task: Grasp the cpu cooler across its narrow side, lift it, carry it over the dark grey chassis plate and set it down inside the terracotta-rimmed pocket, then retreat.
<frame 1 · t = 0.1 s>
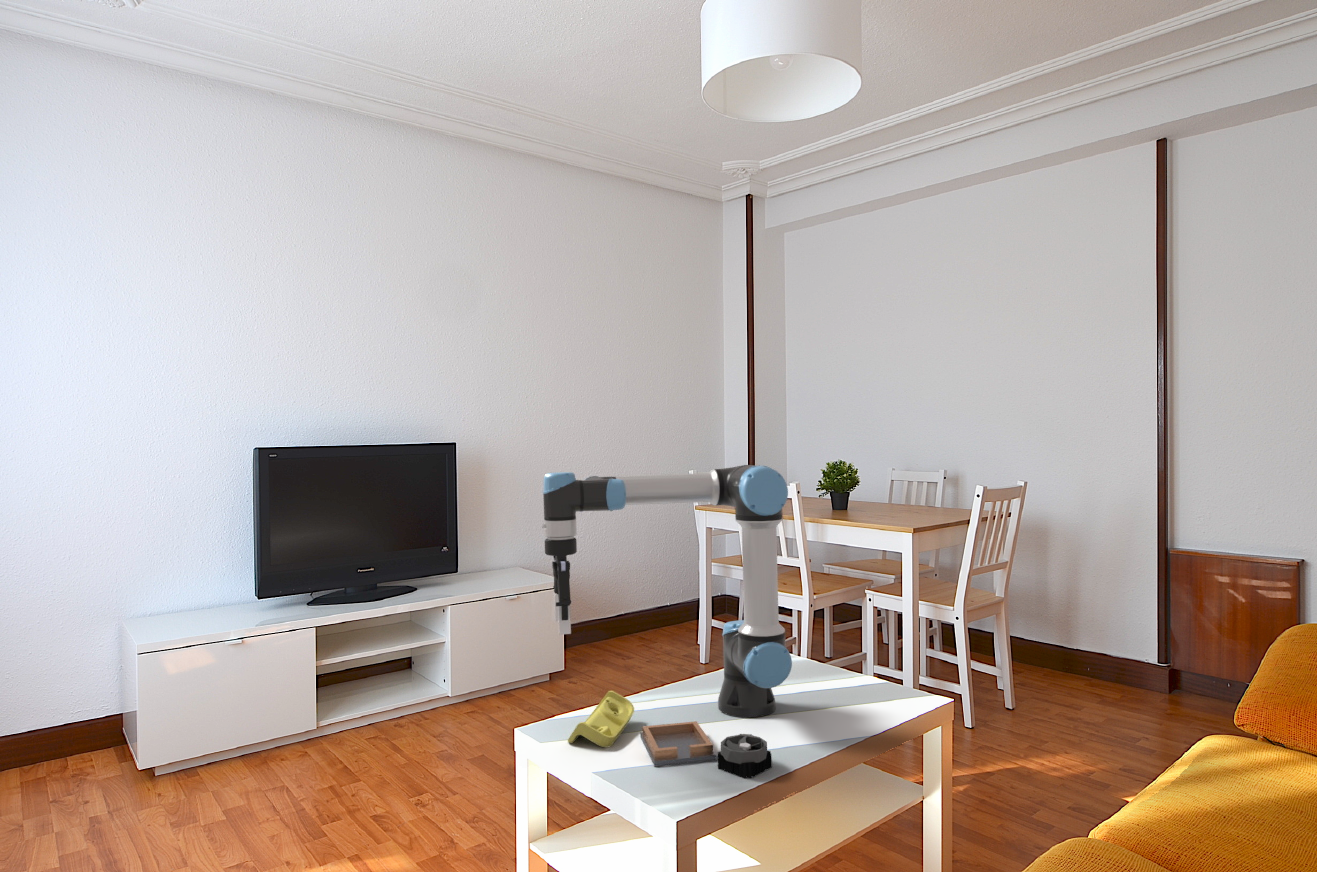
hand: (562, 627, 189), 28 cm above the table, fingers open, 13 cm apart
cpu cooler: (744, 768, 174), on the table
plastic component: (605, 734, 196), on the table
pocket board: (676, 748, 186), on the table
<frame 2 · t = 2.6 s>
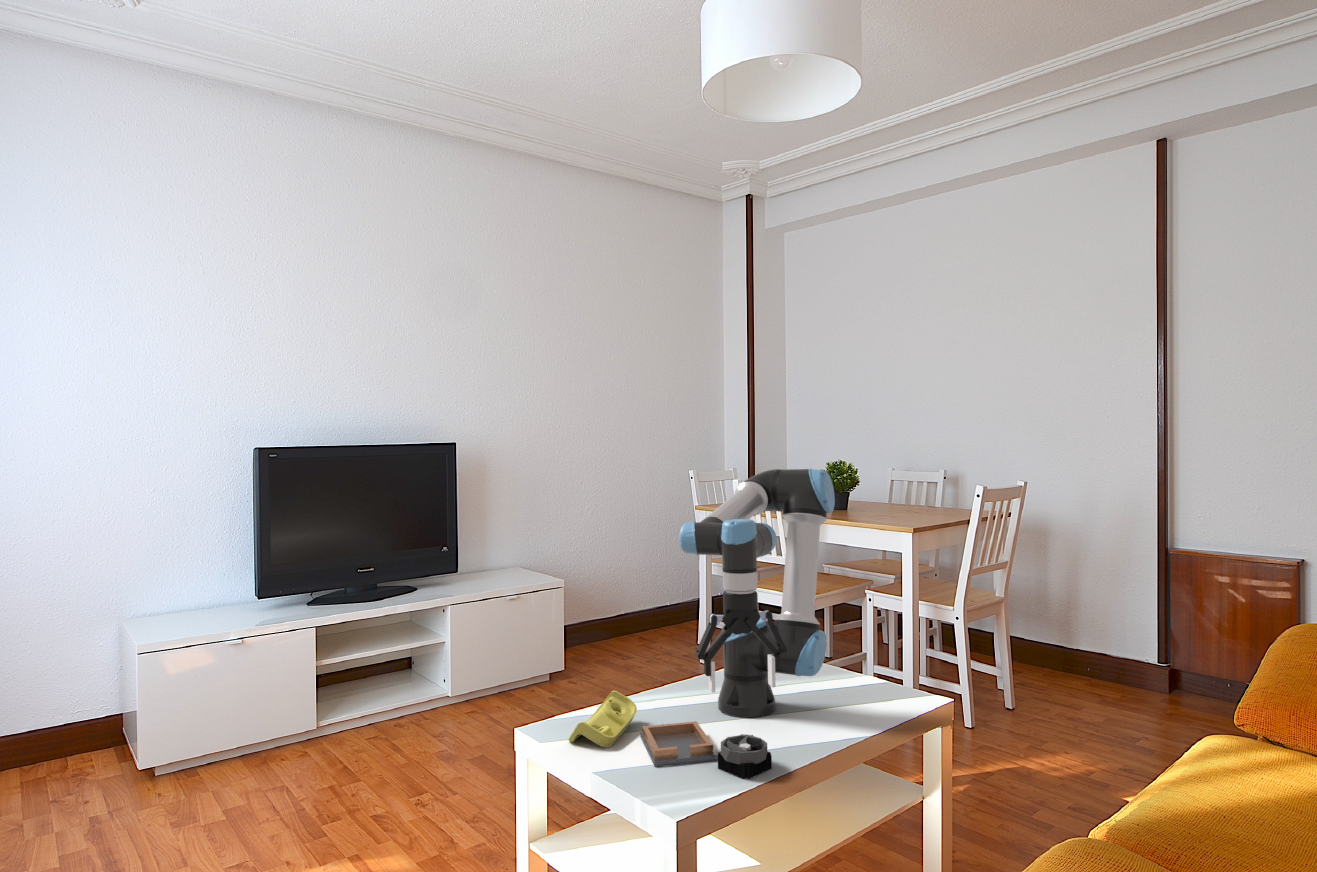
hand: (742, 688, 174), 17 cm above the table, fingers open, 13 cm apart
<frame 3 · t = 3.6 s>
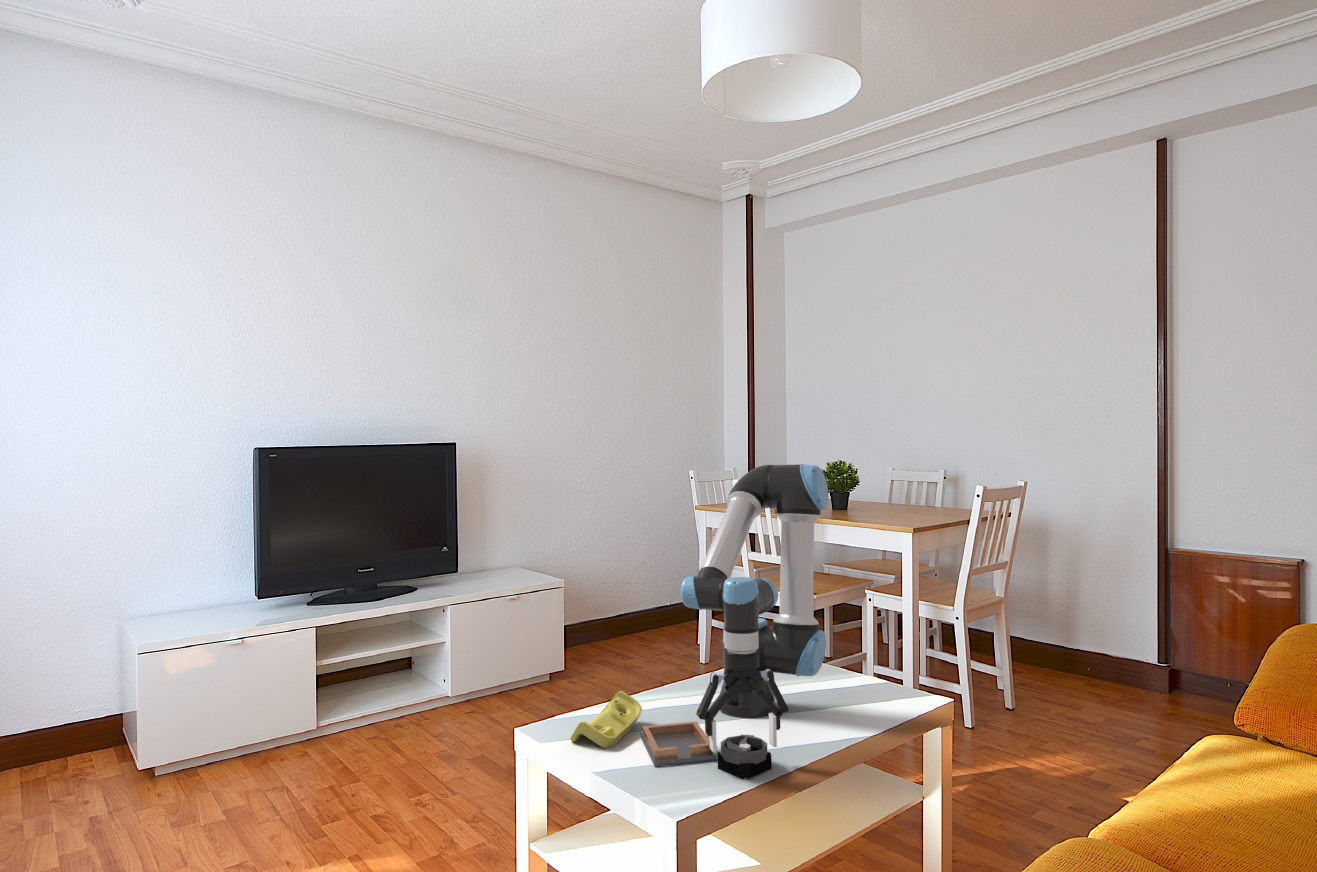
hand: (743, 747, 174), 4 cm above the table, fingers open, 13 cm apart
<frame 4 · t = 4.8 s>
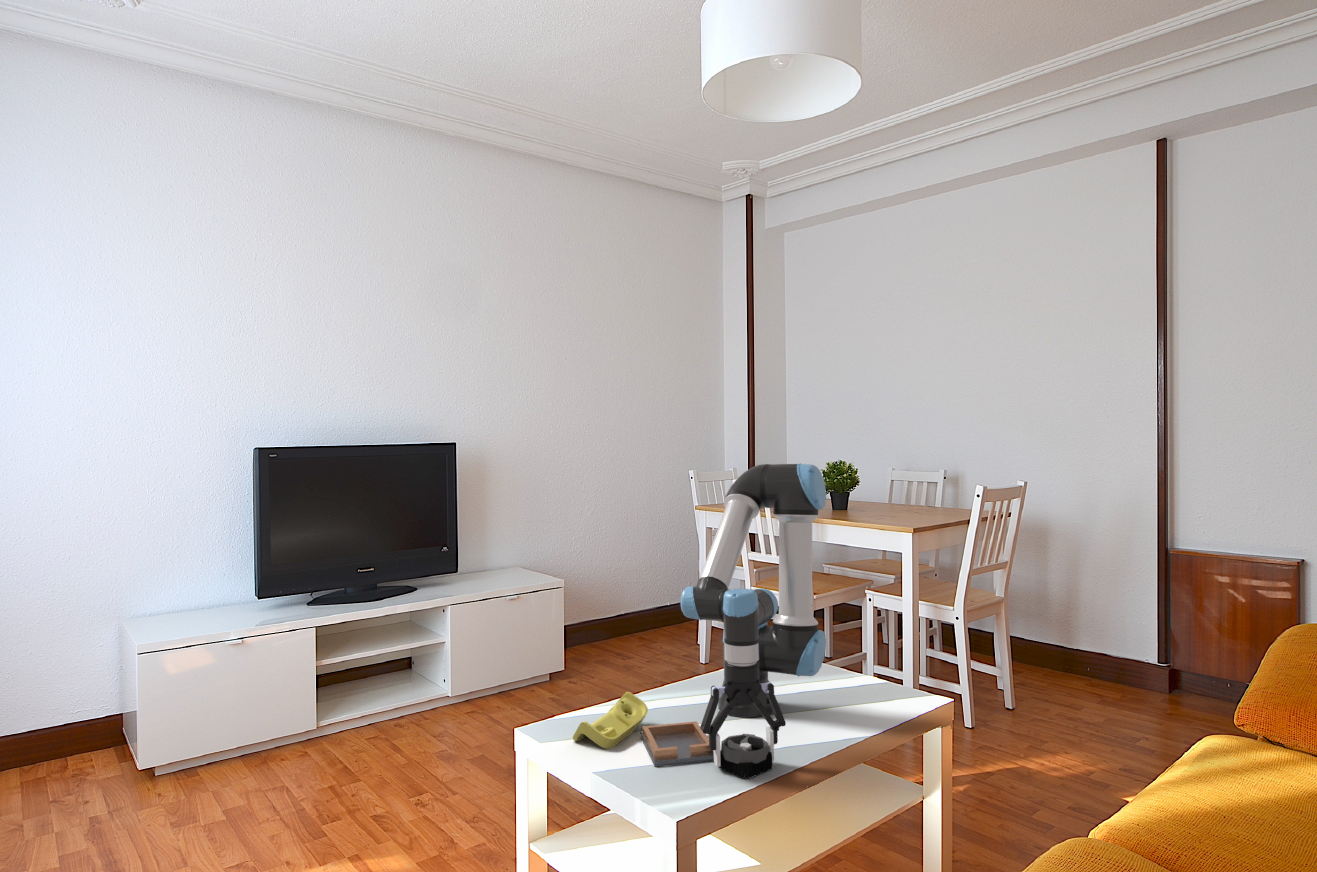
hand: (744, 761, 174), 1 cm above the table, fingers closed on cpu cooler, 11 cm apart
cpu cooler: (745, 769, 174), on the table, touching gripper
plastic component: (614, 735, 195), on the table
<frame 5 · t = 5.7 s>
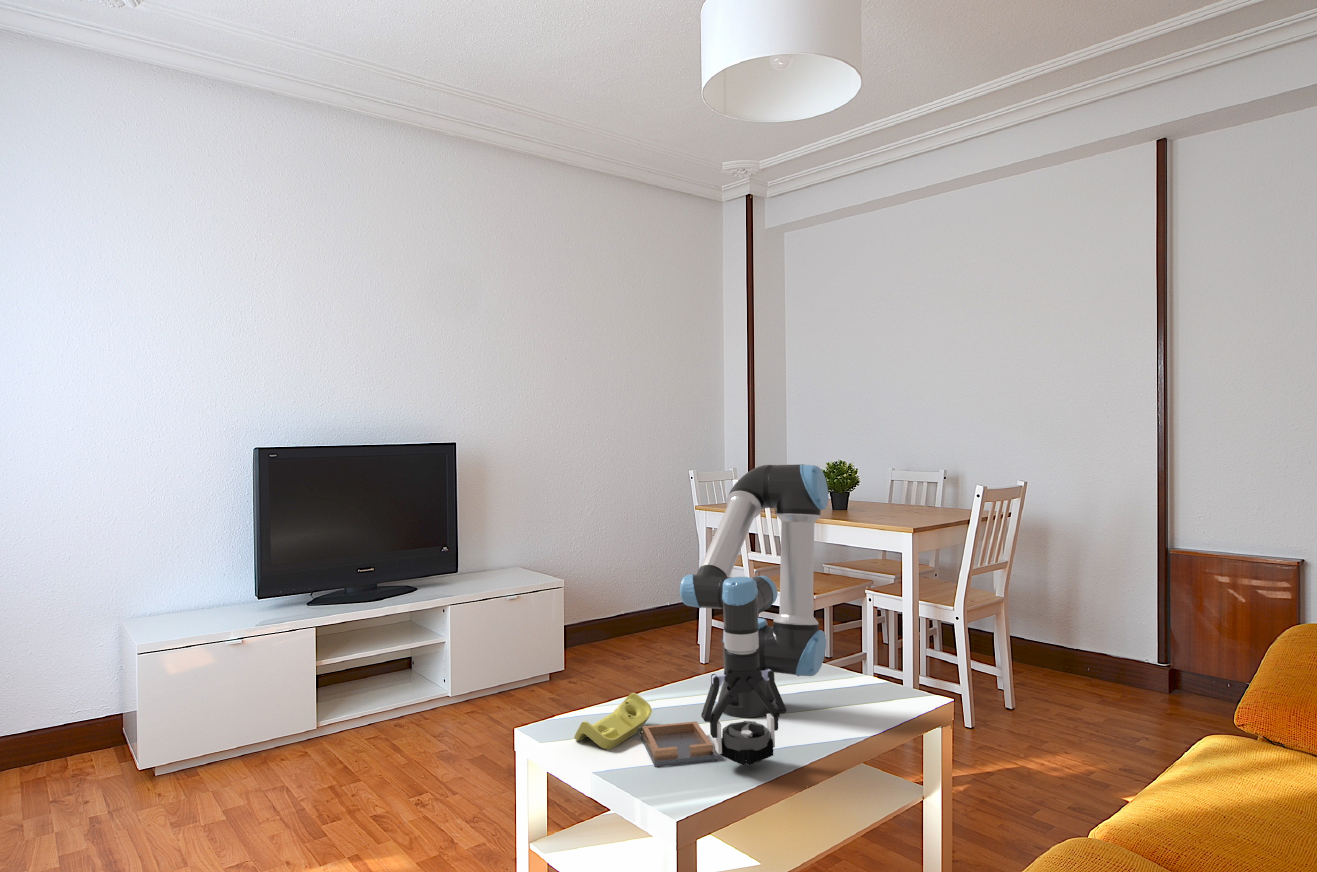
hand: (745, 748, 175), 4 cm above the table, fingers closed on cpu cooler, 11 cm apart
cpu cooler: (746, 755, 174), point 2 cm above the table, touching gripper
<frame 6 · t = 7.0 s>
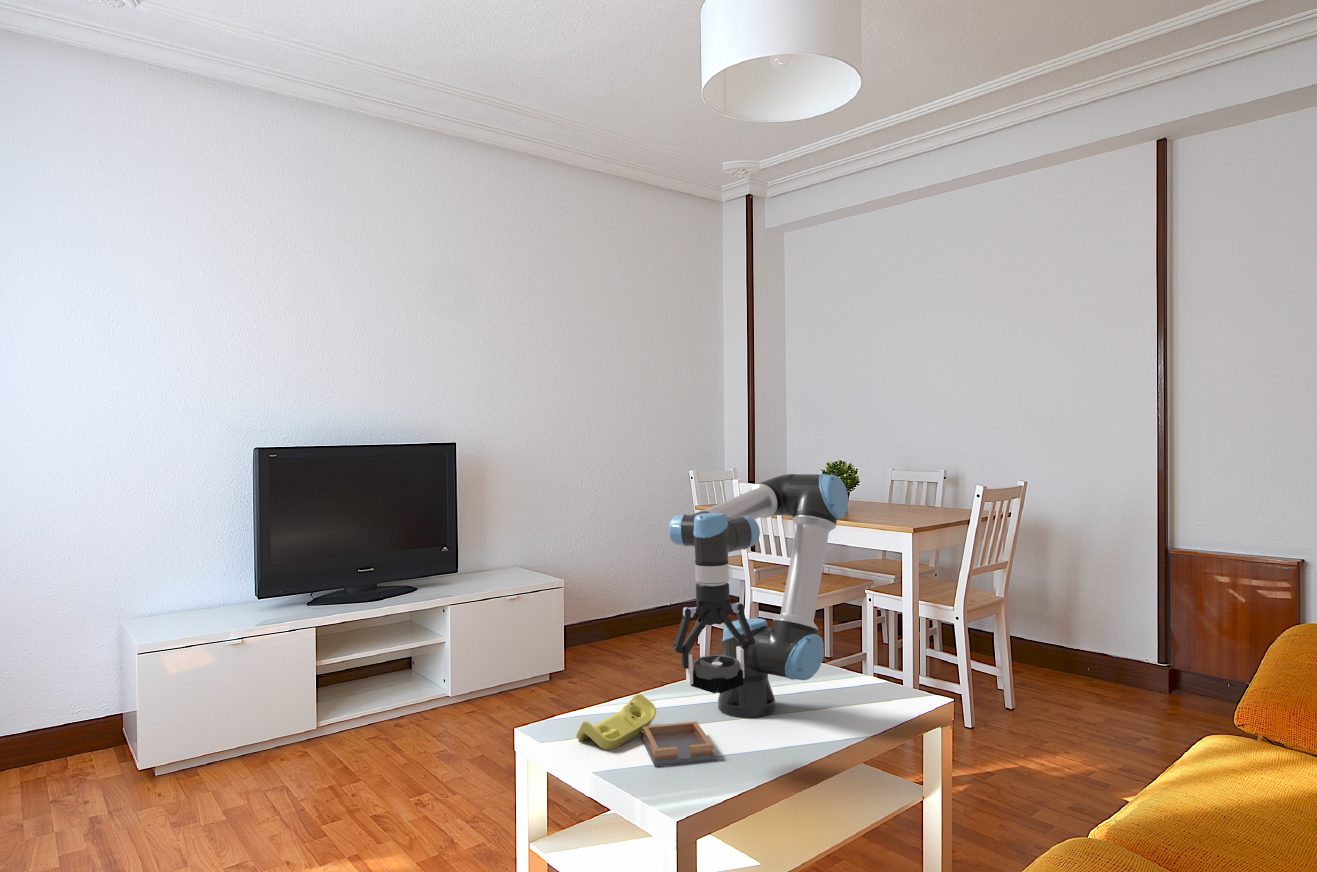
hand: (715, 679, 179), 18 cm above the table, fingers closed on cpu cooler, 11 cm apart
cpu cooler: (717, 686, 178), point 16 cm above the table, touching gripper
when the fingers open (4 cm above the table, at t = 11.2 s): cpu cooler stays where it is, resting on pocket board.
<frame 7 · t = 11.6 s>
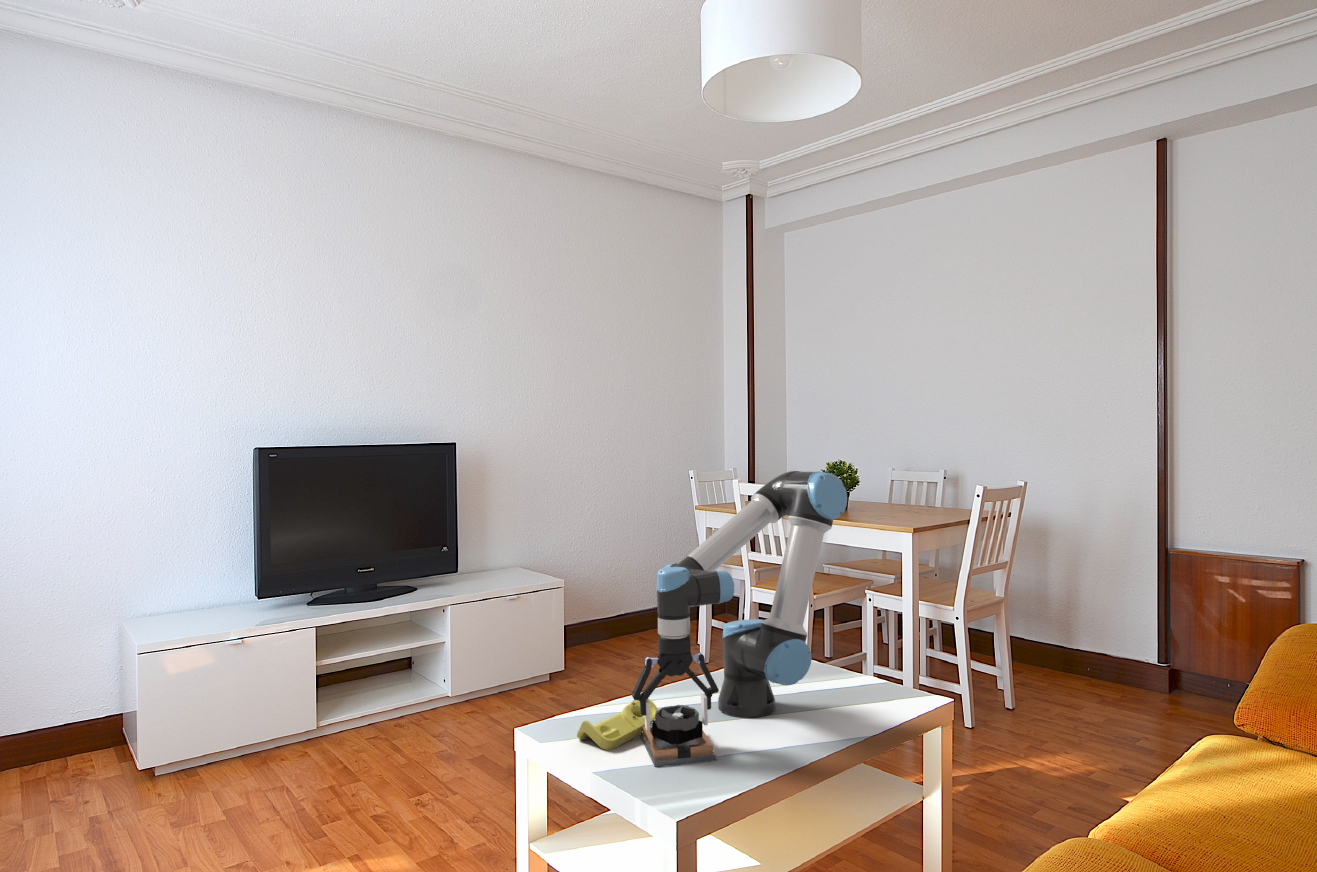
hand: (676, 726, 186), 5 cm above the table, fingers open, 13 cm apart
cpu cooler: (677, 737, 185), point 3 cm above the table, touching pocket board
plastic component: (621, 736, 194), on the table, touching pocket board
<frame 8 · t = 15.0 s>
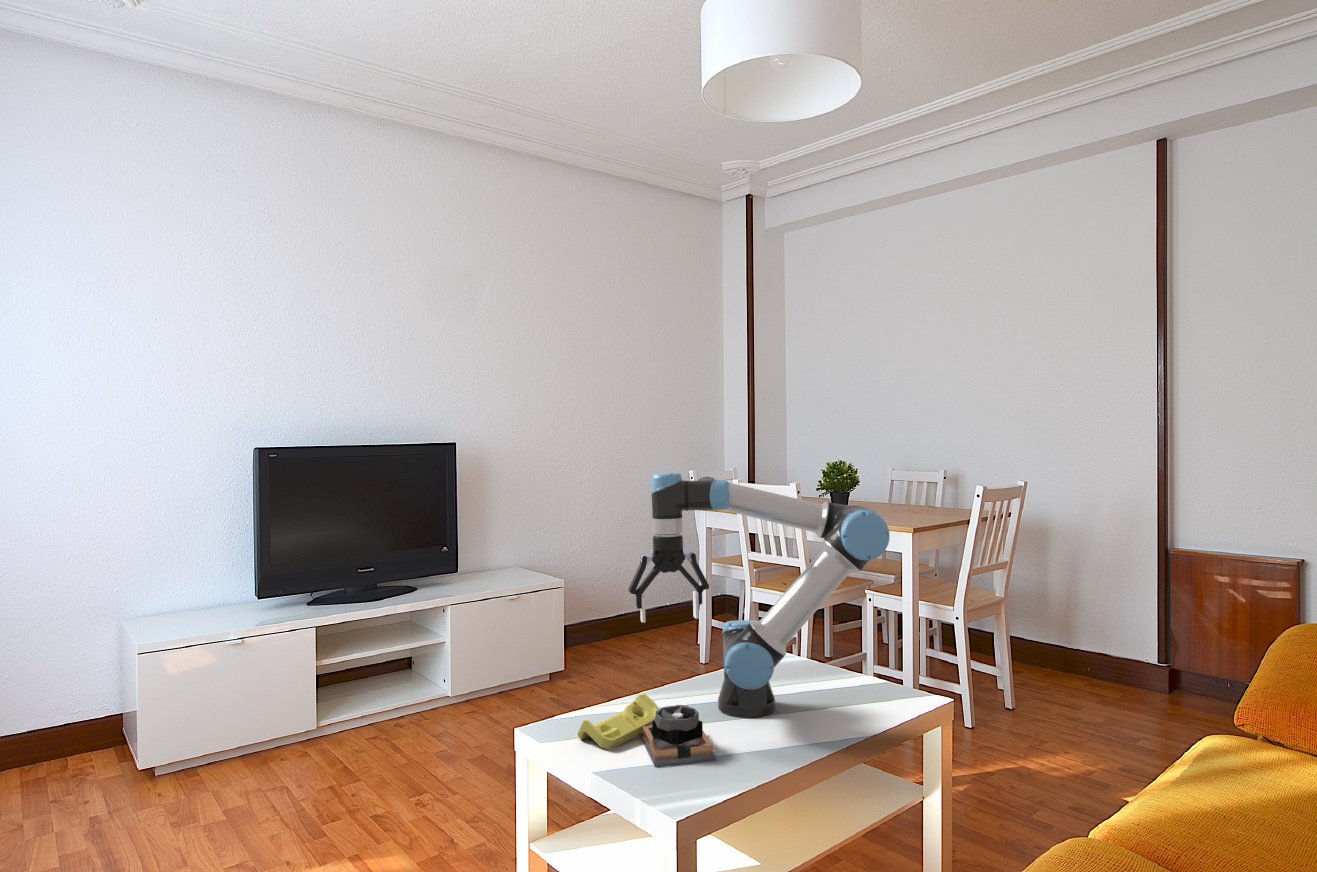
hand: (669, 619, 200), 27 cm above the table, fingers open, 13 cm apart
at the end: cpu cooler 0.7 cm off-centre on the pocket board, point 2.8 cm above the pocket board's base; cpu cooler tilted 0°; the gripper is holding nothing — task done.
